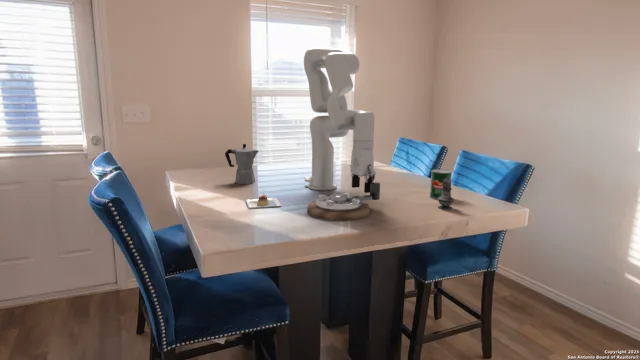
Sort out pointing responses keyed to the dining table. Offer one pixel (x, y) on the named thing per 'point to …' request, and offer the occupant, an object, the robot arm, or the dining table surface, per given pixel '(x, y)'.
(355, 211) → the base
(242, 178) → the coffeepot
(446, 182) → the gray candlestick
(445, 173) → the canned tomato
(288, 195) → the dining table surface
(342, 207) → the crank handle
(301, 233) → the dining table surface
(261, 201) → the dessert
